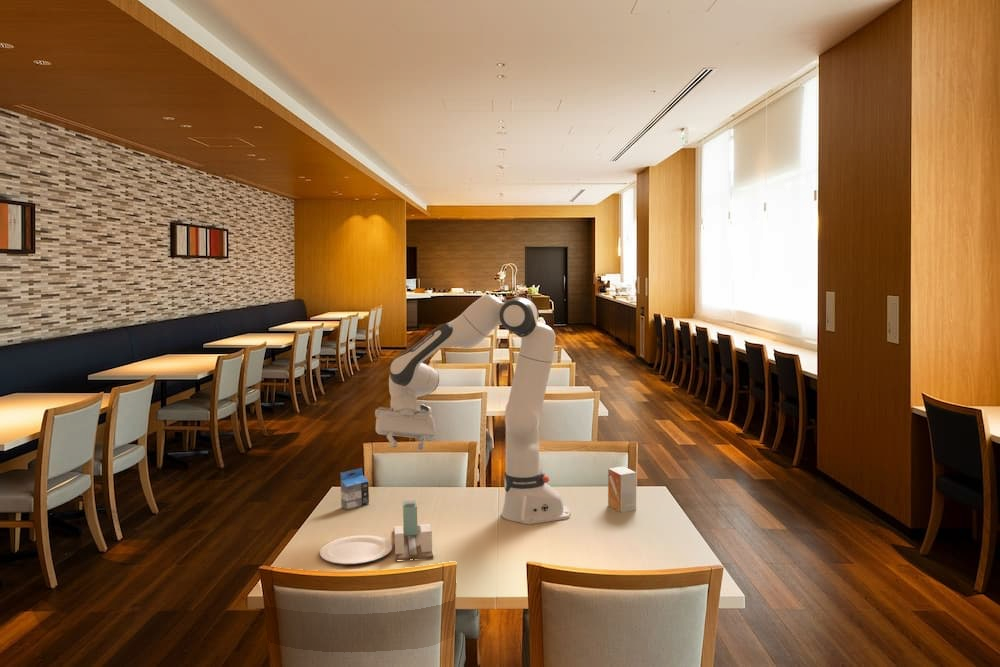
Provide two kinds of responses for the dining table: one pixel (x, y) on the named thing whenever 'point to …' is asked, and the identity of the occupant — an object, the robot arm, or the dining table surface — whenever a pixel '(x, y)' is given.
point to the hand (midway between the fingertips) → (407, 447)
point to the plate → (355, 550)
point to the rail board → (413, 548)
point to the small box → (622, 489)
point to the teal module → (410, 518)
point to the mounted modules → (424, 538)
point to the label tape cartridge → (354, 489)
